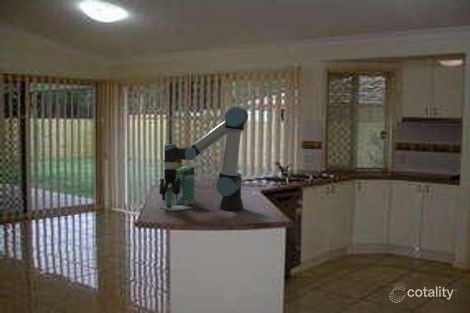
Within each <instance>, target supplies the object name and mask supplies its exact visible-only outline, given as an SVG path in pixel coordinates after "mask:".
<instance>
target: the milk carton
mask: <svg viewBox="0 0 470 313" xmlns="http://www.w3.org/2000/svg"><path fill="white" fill-rule="evenodd" d="M176 177H179V178H180V181H179V183H180V193H178V194H177V199H176V205H178V206H179V205H185V206H189V205H188V204H191V205H194V204H195V166H188V165H183V167H180V168H179V169H177V170H176ZM175 185H176V180H175Z"/></svg>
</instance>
